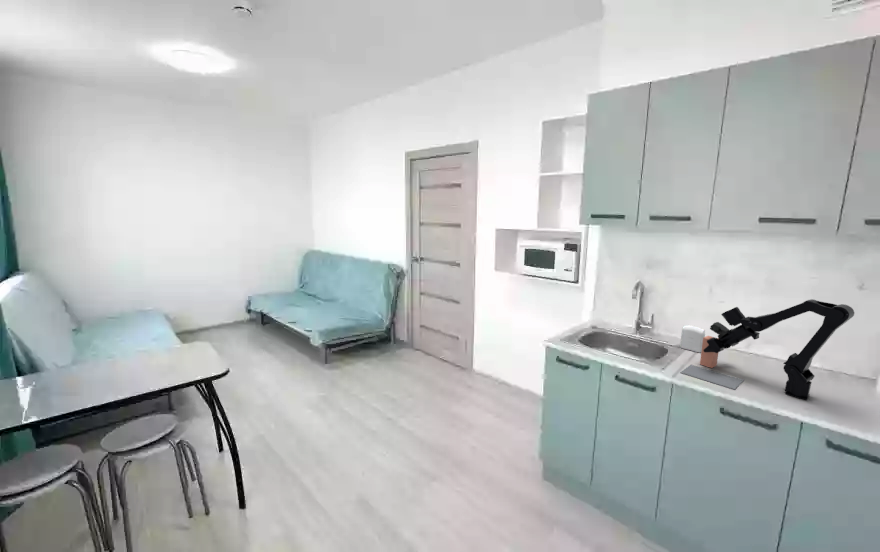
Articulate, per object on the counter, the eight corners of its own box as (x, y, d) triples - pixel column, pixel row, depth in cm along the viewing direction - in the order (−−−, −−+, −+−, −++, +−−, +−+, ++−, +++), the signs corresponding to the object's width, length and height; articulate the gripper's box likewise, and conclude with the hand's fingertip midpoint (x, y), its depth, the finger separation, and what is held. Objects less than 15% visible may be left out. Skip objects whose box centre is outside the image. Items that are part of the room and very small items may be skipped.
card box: (716, 365, 182) (720, 338, 179) (711, 368, 180) (715, 340, 177) (704, 361, 186) (708, 335, 184) (699, 364, 184) (703, 337, 181)
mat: (743, 380, 168) (743, 379, 168) (734, 390, 160) (734, 389, 160) (690, 365, 183) (691, 364, 183) (680, 373, 175) (680, 372, 175)
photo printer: (678, 347, 204) (681, 324, 202) (681, 345, 207) (684, 323, 205) (700, 353, 197) (704, 330, 194) (703, 351, 199) (707, 328, 197)
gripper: (734, 315, 180) (705, 331, 191) (714, 321, 170) (684, 338, 182) (752, 336, 175) (720, 352, 186) (733, 345, 165) (700, 360, 177)
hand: (706, 350), depth 183 cm, fingers closed on card box, 5 cm apart
